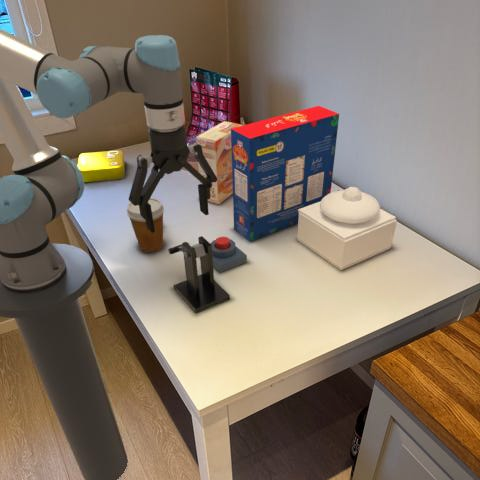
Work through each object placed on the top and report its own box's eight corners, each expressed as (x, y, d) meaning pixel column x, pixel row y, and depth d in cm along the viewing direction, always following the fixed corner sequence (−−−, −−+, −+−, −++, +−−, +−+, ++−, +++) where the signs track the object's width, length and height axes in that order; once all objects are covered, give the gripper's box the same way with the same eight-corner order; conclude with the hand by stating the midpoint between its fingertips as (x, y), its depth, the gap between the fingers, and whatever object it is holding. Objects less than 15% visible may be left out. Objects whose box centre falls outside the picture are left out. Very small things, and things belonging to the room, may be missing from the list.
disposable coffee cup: (176, 243, 131) (171, 202, 123) (152, 259, 125) (145, 218, 117) (150, 233, 135) (143, 193, 127) (126, 249, 129) (117, 208, 122)
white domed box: (341, 270, 120) (349, 212, 109) (295, 239, 131) (299, 184, 121) (391, 248, 127) (403, 191, 117) (344, 220, 138) (351, 166, 128)
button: (213, 245, 123) (212, 239, 122) (225, 241, 125) (224, 235, 123) (220, 251, 121) (219, 245, 120) (232, 247, 122) (232, 241, 121)
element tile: (81, 165, 171) (78, 151, 168) (124, 161, 173) (122, 147, 170) (79, 183, 160) (75, 169, 157) (125, 179, 162) (122, 165, 159)
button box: (200, 254, 127) (199, 241, 124) (226, 244, 130) (225, 231, 127) (219, 272, 120) (219, 259, 118) (246, 262, 123) (246, 249, 121)
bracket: (173, 288, 116) (166, 238, 107) (206, 276, 119) (202, 227, 110) (195, 313, 109) (190, 262, 100) (230, 299, 112) (227, 248, 103)
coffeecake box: (219, 204, 147) (215, 140, 134) (199, 199, 150) (194, 136, 137) (244, 185, 157) (243, 124, 144) (226, 180, 159) (223, 120, 147)
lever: (169, 256, 116) (166, 246, 115) (188, 249, 118) (185, 240, 117) (191, 260, 104) (188, 249, 104) (211, 252, 106) (208, 242, 105)
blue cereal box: (310, 201, 147) (318, 105, 129) (328, 211, 142) (339, 113, 124) (234, 229, 136) (230, 128, 117) (250, 241, 131) (249, 138, 112)
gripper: (114, 146, 89) (133, 245, 103) (229, 118, 99) (233, 212, 112) (99, 134, 94) (120, 230, 108) (211, 108, 103) (217, 199, 117)
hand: (178, 221), depth 110 cm, fingers open, 13 cm apart
